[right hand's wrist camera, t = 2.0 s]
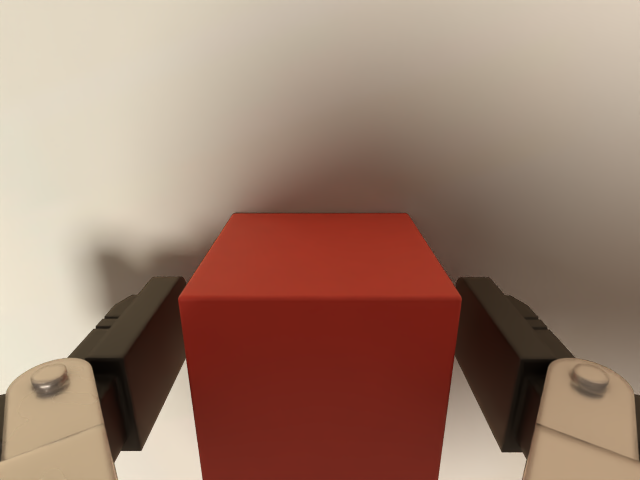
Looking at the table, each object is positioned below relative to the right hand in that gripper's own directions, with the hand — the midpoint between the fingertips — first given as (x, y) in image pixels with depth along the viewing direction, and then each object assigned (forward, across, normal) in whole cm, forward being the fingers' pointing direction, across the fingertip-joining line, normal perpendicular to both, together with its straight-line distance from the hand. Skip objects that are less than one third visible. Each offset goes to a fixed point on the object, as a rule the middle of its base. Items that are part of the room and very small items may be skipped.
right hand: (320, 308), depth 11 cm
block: (+1, 0, 0) cm, 1 cm away
